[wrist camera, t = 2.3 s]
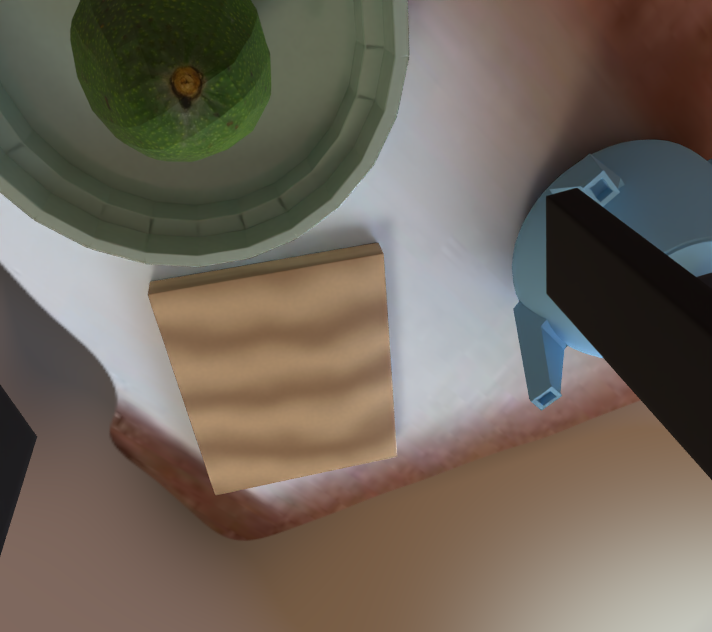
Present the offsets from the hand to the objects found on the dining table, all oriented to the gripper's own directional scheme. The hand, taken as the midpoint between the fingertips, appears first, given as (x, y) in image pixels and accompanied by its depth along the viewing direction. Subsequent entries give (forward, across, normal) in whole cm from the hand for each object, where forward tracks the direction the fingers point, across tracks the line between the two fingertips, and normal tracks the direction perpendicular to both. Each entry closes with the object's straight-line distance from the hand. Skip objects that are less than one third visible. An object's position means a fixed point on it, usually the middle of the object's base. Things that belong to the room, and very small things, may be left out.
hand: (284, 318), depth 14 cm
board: (+22, -2, -19) cm, 29 cm away
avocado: (+21, -2, +3) cm, 22 cm away
